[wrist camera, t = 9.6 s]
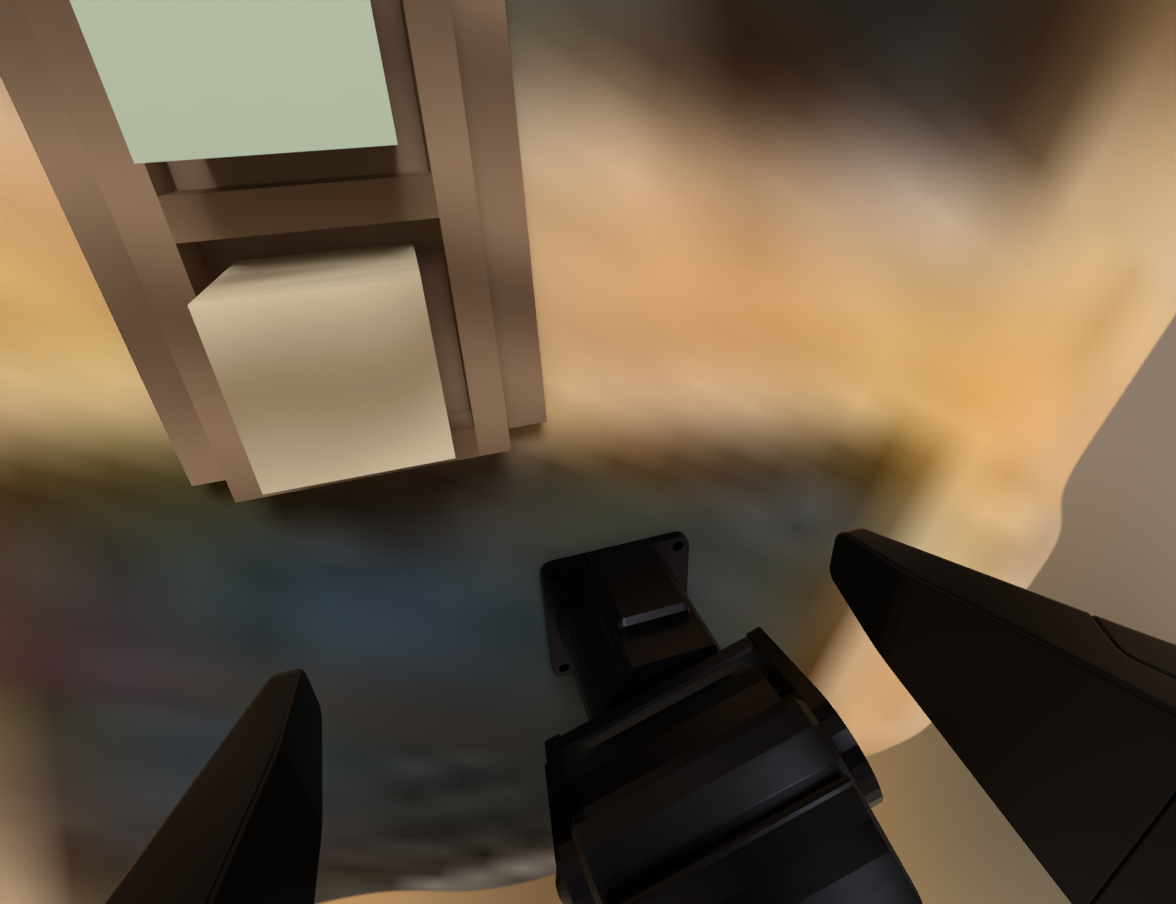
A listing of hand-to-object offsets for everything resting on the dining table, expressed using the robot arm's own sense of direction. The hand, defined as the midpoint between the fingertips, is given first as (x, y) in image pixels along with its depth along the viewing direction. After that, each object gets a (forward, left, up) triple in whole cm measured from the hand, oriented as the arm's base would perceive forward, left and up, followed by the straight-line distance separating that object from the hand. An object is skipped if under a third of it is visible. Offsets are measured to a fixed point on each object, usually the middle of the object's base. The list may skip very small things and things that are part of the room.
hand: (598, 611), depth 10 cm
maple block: (+2, +4, -11) cm, 12 cm away
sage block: (+9, +4, -11) cm, 15 cm away
